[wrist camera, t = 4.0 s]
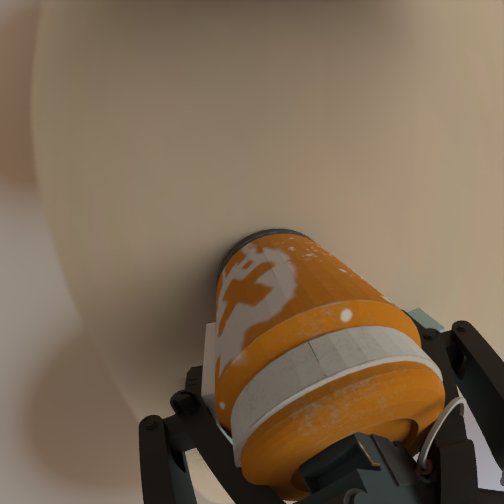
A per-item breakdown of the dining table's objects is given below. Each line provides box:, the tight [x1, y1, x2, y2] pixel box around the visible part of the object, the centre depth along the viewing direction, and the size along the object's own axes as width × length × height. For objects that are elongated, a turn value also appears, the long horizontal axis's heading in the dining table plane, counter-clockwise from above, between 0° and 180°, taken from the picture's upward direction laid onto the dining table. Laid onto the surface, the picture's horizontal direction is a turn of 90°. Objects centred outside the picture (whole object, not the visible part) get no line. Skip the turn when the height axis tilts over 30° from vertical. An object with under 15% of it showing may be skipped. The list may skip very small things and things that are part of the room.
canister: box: [215, 229, 467, 504], centre depth 12 cm, size 9×11×20 cm
